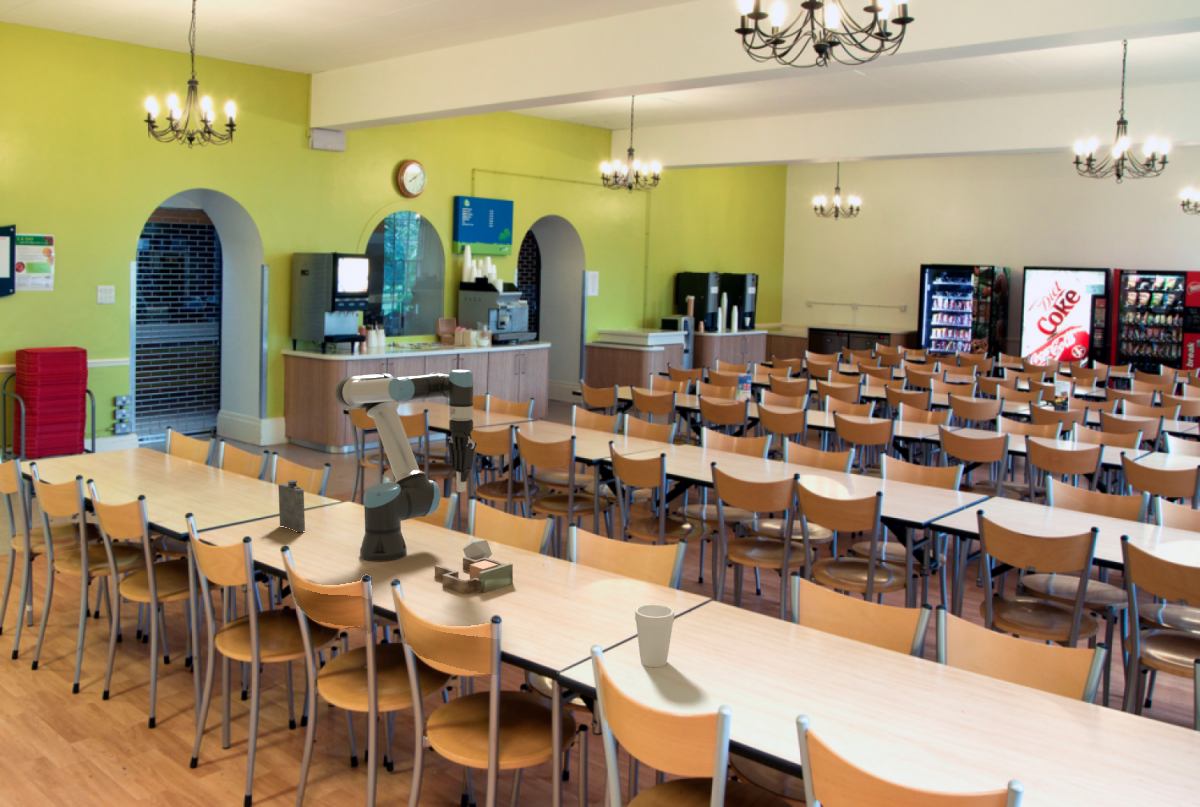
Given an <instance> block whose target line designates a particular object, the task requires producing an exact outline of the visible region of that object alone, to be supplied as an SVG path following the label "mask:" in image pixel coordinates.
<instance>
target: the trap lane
mask: <svg viewBox="0 0 1200 807" xmlns="http://www.w3.org/2000/svg"><path fill="white" fill-rule="evenodd" d="M481 561H488V562H491V563H495V564H498V567H496V568H492V569H489V570H485V571H482V572H479V579H478V578H473V579H470V578H469V579H466V580H465V579H461V578H459V576H460V575H459V571H457V570H454V569H453V568H448V567H446V566H443V565H439V564H436V565H434V578H439V579H442V581H441V582H442V587H444V588H447V589H449V590H453V591H455V592H458V593H461V594H463V595H466V594H469V593H473V592H476V593H477V592H478V593H480V594H483V593H486V592H489V591H492V590H496V589H499V588H501V587H505V586H508V585H511V584H513V582H514V581H513V580H514V578H513V576H514V575H513V574H514V573H513V570H514V569H513V568H514V565H513V563H511V562H509V563H504V562H501V561H498V560H495V559H492V558H490V557H489V558H481V559H478V560H474V559H471V558H467V557H466V556H465V557H462V569H463V570H467V571H469V572H470V565H471V564H474V563H478V562H481Z"/></svg>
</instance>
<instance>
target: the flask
mask: <svg viewBox="0 0 1200 807" xmlns="http://www.w3.org/2000/svg"><path fill="white" fill-rule="evenodd" d="M297 483H298V480H296V479H289V480H287V483H279V484H278V506H279V508H278V509H279V510H278V511H279V513H278V514H279V527H280V526H284V527H287V528H290V529H293V530H295V531H297V532H303V531H305V532H306V521H305V519H306V518H305V489H304V488H302V487H301V486H297ZM287 528H286V529H287ZM290 529H289V530H290ZM293 530H292V531H293ZM295 531H294V532H295ZM297 532H296V533H297Z"/></svg>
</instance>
